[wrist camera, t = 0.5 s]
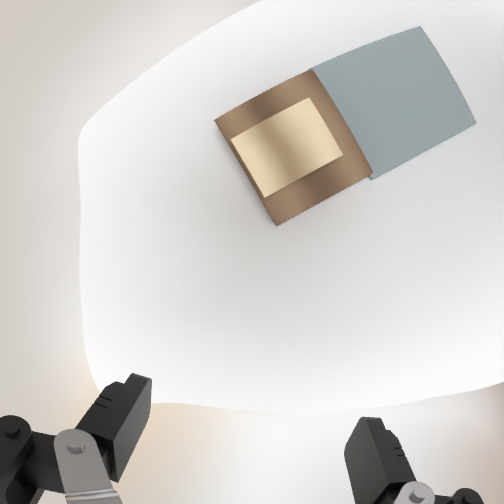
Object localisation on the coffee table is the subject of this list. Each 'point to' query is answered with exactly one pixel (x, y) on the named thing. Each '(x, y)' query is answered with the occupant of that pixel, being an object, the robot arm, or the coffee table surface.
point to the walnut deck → (318, 181)
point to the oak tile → (286, 147)
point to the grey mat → (396, 98)
